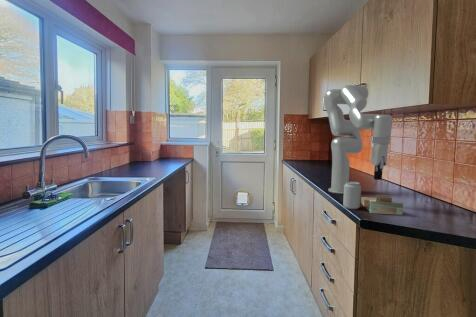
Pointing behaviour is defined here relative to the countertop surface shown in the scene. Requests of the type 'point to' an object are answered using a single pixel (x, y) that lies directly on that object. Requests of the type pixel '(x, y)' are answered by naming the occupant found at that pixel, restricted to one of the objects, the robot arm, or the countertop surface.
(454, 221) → the countertop surface
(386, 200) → the block
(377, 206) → the deck
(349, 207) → the can
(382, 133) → the robot arm
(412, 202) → the countertop surface
